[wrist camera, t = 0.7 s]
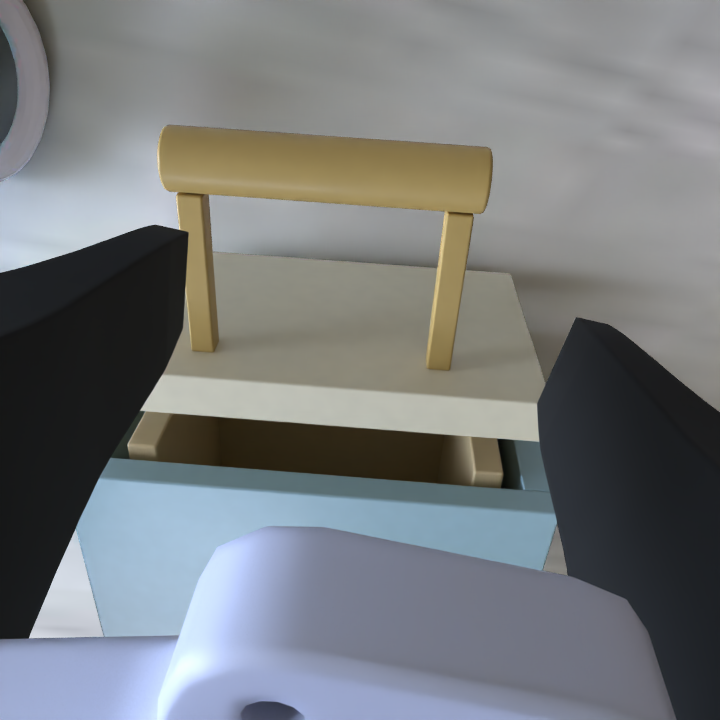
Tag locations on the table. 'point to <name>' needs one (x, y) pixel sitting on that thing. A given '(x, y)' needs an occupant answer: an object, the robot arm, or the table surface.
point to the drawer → (339, 323)
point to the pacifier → (24, 87)
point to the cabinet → (284, 523)
